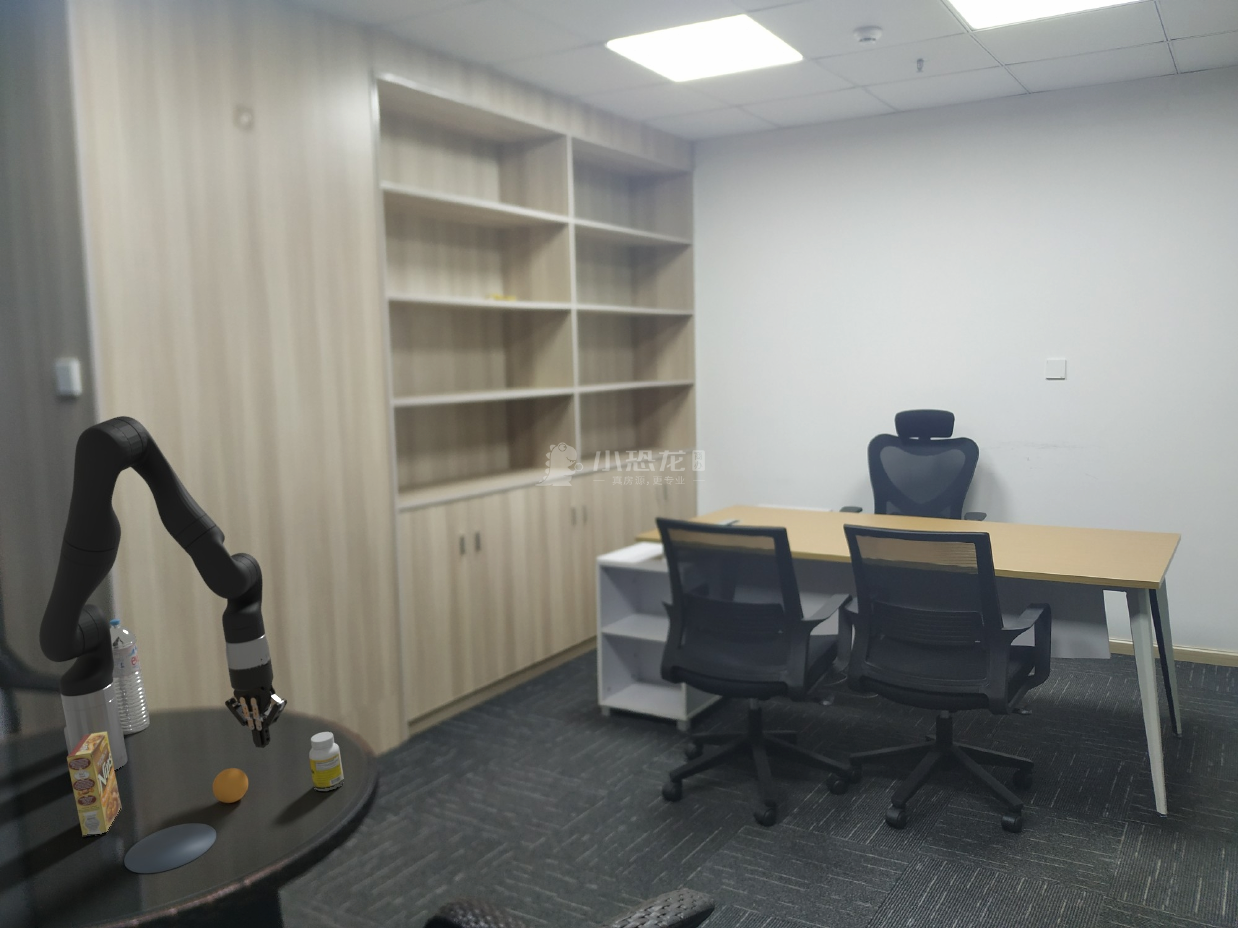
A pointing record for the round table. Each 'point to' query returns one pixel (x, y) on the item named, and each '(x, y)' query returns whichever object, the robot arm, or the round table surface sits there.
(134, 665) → the water bottle
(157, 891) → the round table surface
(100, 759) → the candy box
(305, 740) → the round table surface
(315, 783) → the supplement bottle
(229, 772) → the ball
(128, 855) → the blue-grey plate
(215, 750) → the round table surface
